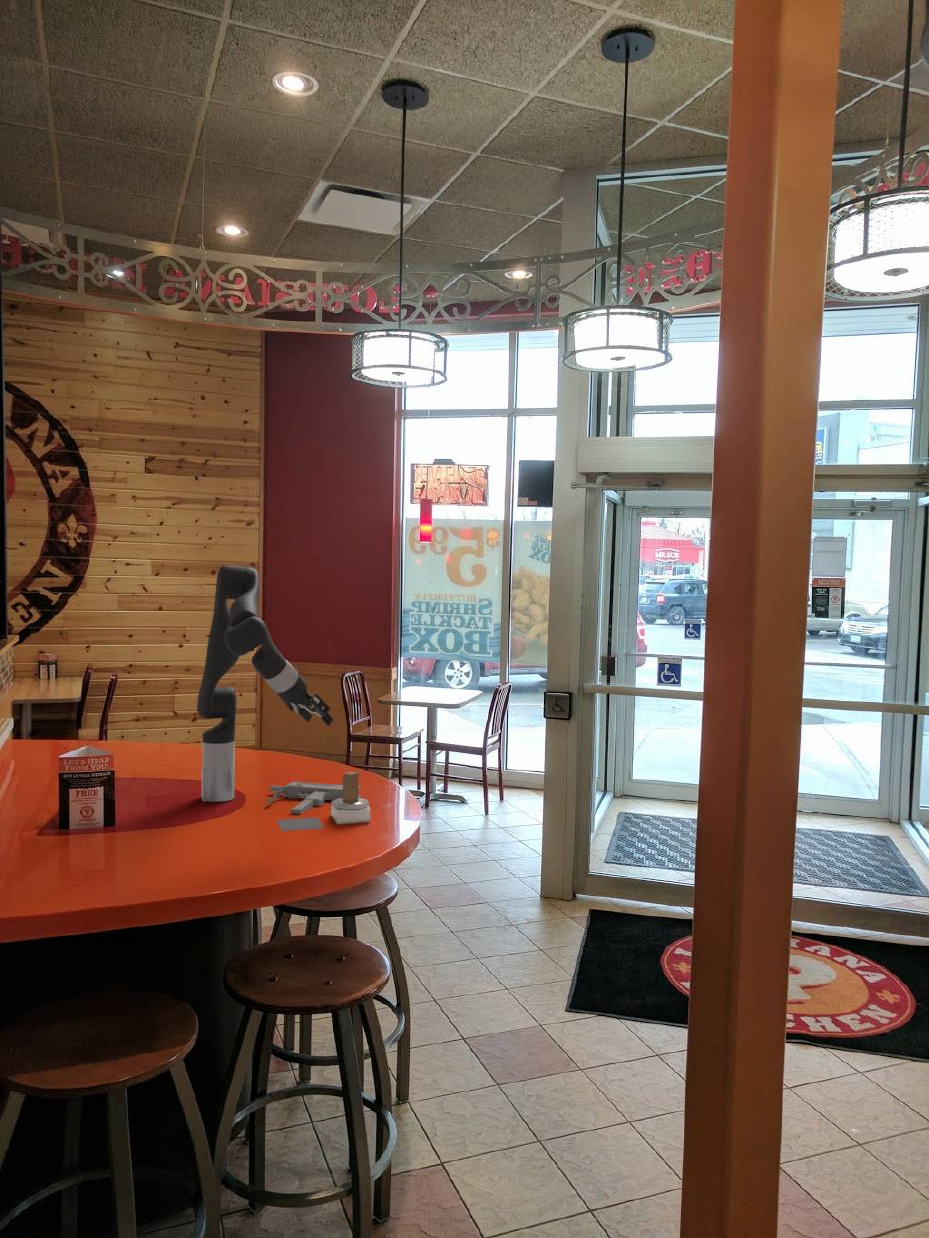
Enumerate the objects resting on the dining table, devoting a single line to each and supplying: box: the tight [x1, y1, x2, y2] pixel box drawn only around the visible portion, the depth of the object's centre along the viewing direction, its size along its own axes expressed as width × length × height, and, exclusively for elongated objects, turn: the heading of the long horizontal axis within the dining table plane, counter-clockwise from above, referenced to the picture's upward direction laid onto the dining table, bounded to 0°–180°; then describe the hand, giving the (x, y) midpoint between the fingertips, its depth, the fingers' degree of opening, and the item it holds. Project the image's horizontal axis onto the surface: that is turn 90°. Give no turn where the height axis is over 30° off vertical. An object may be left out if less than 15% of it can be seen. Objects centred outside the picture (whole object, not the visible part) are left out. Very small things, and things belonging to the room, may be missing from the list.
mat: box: [276, 816, 325, 832], centre depth 240 cm, size 11×11×1 cm
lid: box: [331, 771, 370, 810], centre depth 246 cm, size 10×10×9 cm
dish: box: [330, 802, 371, 825], centre depth 246 cm, size 9×9×4 cm
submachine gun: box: [265, 781, 362, 815], centre depth 263 cm, size 4×28×25 cm
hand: (319, 720), depth 236 cm, fingers open, 8 cm apart
